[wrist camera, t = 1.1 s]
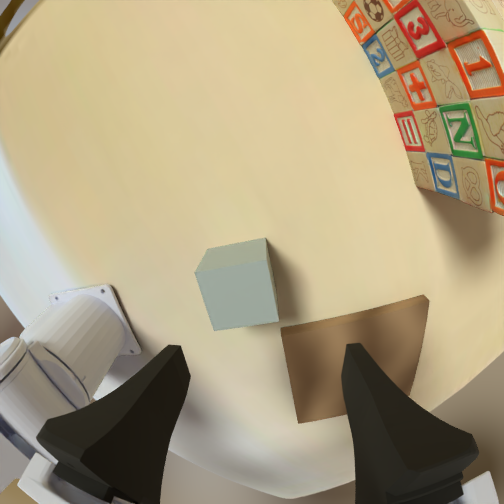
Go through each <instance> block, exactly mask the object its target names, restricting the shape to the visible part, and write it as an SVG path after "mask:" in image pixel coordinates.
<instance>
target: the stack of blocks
mask: <svg viewBox="0 0 504 504" xmlns="http://www.w3.org/2000/svg"><path fill="white" fill-rule="evenodd" d="M332 1H333V2H334V4H335V5H336V6H337V8H338V9H339V11H340V12H341V14H342V15H343V16H344V18H345V20H346V22H347V23H348V25H349V27H350V28H351V30H352V32H353V33H354V35H355V37H356V38H357V40H358V42H359V44H360V45H362V47H363V49H364V51H365V53H366V55H367V57H368V58H369V60H370V62H371V64H372V66H373V68H374V70H375V72H376V74H377V77H378V78H379V79H380V82H381V85H382V87H383V89H384V91H385V93H386V96H387V98H388V100H389V103H390V105H391V108H392V110H393V112H394V117H395V120H396V123H397V126H398V128H399V131H400V134H401V137H402V140H403V143H404V146H405V149H406V151H407V156H408V159H409V163H410V166H411V170H412V173H413V177H414V181H415V184H416V186H417V187H421V188H424V189H427V190H431V191H434V192H439V193H441V194H444V195H447V196H450V197H453V198H456V199H458V200H462V202H464V203H467V204H469V205H471V206H474V207H477V208H480V209H482V210H484V211H487V212H490V213H493V212H496V213H498V214H500V215H502V216H504V0H332Z"/></svg>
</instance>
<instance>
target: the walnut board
mask: <svg viewBox="0 0 504 504" xmlns="http://www.w3.org/2000/svg"><path fill="white" fill-rule="evenodd" d="M428 308H429V300H428V299H427V298H426V297H425V296H424V295H420V296H417V297H414V298H410V299H407V300H403V301H400V302H396V303H392V304H389V305H385V306H381V307H377V308H373V309H369V310H365V311H361V312H357V313H352V314H348V315H344V316H339V317H335V318H330V319H325V320H320V321H315V322H310V323H305V324H300V325H295V326H289V327H283V328H281V337H282V342H283V347H284V352H285V357H286V362H287V367H288V373H289V378H290V383H291V388H292V393H293V399H294V404H295V409H296V415H297V420H298V424H299V423H306V422H311V421H317V420H322V419H327V418H332V417H336V416H341V415H345V414H347V410H346V406H345V402H344V397H343V390H342V381H341V373H342V367H343V362H344V356H345V350H346V344H351V343H361V344H362V345H363V346H364V348H365V349H366V350H367V352H368V353H369V354H370V356H371V357H372V358H373V359H374V361H375V362H376V363H377V364H378V365H379V367H380V368H381V369H382V370H383V371H384V372H385V373H386V375H387V376H388V377H389V378H390V379H391V380H392V381H393V382H394V383H395V384H396V385H397V386H398V387H399V388H400V389H401V390H402V391H403V392H404V393H405V394H406V395H407V396H409V395H410V392H411V388H412V385H413V381H414V377H415V374H416V370H417V366H418V362H419V357H420V353H421V348H422V343H423V338H424V333H425V327H426V321H427V315H428Z"/></svg>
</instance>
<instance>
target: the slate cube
mask: <svg viewBox="0 0 504 504" xmlns="http://www.w3.org/2000/svg"><path fill="white" fill-rule="evenodd" d="M195 275H196V278H197V282H198V285H199V288H200V291H201V294H202V297H203V300H204V303H205V306H206V309H207V312H208V315H209V318H210V321H211V324H212V326H213V329H214V331H217V330H225V329H233V328H240V327H247V326H254V325H260V324H266V323H273V322H279V315H278V304H277V293H276V287H275V282H274V277H273V272H272V267H271V262H270V257H269V252H268V247H267V242H266V238H261V239H256V240H251V241H246V242H241V243H235V244H230V245H225V246H220V247H215V248H210V249H207V251H206V253H205V255H204V257H203V258H202V260H201V262H200V264H199V266H198V267H197V269H196V271H195Z"/></svg>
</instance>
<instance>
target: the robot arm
mask: <svg viewBox="0 0 504 504" xmlns="http://www.w3.org/2000/svg"><path fill="white" fill-rule="evenodd" d="M103 290H104V291H105V292H104V291H103ZM49 300H50V302H51V305H50V306H49V307H48V308H47V309H46V310H45V311H44V312H43V313H42V314H40V315H39V316H38V317H37V318H36V319H35V320H34V321H33V322H32V323H31V324H30V325H29V326H28V327H27V328H26V329H25V330H24V331H23V332H22V333H21V335H20V337H19V338H16V337H11V338H9V339H7V340H6V341H4V342H3V343H1V344H0V493H1V492H2V491H3V490H4V489H5V488H6V487H7V486H8V485H9V484H10V483H11V482H12V481H13V480H14V479H15V478H18V479H20V481H19V482H18V484H17V485H18V487H19V488H21V489H22V490H23V491H24V492H25V493H27V494H28V495H29V496H30V497H32V498H33V499H34V500H35V501H36V502H38V503H39V504H133V503H134V504H160V495H161V485H162V478H163V471H164V466H165V461H166V455H167V451H168V447H169V442H170V439H171V435H172V432H173V430H174V427H175V424H176V422H177V419H178V417H179V414H180V411H181V409H182V406H183V403H184V401H185V398H186V395H187V391H188V387H189V382H190V377H191V376H190V373H189V370H188V367H187V364H186V361H185V357H184V354H183V351H182V348H181V346H180V345H168V346H167V347H165V348H164V349H163V350H162V351H161V352H160V353H159V354H158V355H157V356H156V357H154V358H153V359H152V360H151V361H150V362H149V363H148V364H147V365H146V366H144V367H143V368H142V369H141V370H140V371H139V372H138V373H136V374H135V375H134V376H133V377H131V378H130V379H129V380H128V381H126V382H125V383H124V384H123V385H121V386H120V387H118V388H117V389H115V390H114V391H112V392H111V393H109V394H108V395H106V396H104V397H103V398H101V399H99V400H97V401H95V402H93V403H92V404H90V401H91V399H92V398H93V396H94V394H95V392H96V391H97V389H98V387H99V385H100V384H101V382H102V380H103V379H104V377H105V375H106V374H107V372H108V370H109V369H110V367H111V365H112V364H113V362H114V361H115V359H116V357H117V356H118V355H139V354H140V353H141V348H140V346H139V344H138V342H137V341H136V339H135V337H134V335H133V333H132V331H131V328H130V326H129V324H128V322H127V320H126V318H125V316H124V314H123V312H122V309H121V307H120V305H119V303H118V300H117V298H116V296H115V293H114V291H113V289H112V287H111V286H110V285H108V284H105V285H99V286H94V287H88V288H82V289H77V290H71V291H65V292H60V293H54V294H50V295H49ZM132 350H133V351H132ZM341 381H342V390H343V397H344V402H345V406H346V410H347V415H348V419H349V424H350V428H351V433H352V438H353V444H354V456H355V477H356V498H355V504H499V502H498V498H497V494H496V490H495V487H494V484H493V480H492V477H491V474H490V472H489V471H487V472H485V473H483V474H481V475H480V476H478V477H476V478H474V479H472V480H470V481H468V482H467V483H465V484H463V485H462V486H461V482H460V480H462V479H463V474H462V471H463V470H464V469H465V468H466V467H467V466H469V465H470V464H471V463H472V462H473V461H474V460H475V459H476V458H477V456H478V454H479V450H478V447H477V444H476V442H475V440H474V438H473V436H472V434H470V433H467V432H465V431H462V430H460V429H458V428H455V427H453V426H451V425H449V424H447V423H446V422H444V421H442V420H440V419H439V418H437V417H435V416H434V415H432V414H431V413H429V412H428V411H426V410H425V409H423V408H422V407H421V406H419V405H418V404H417V403H415V402H414V401H413V400H412V399H411V398H409V397H408V396H407V395H406V394H405V393H404V392H403V391H402V390H401V389H400V388H399V387H398V386H397V385H396V384H395V383H394V382H393V381H392V380H391V379H390V378H389V377H388V376H387V375H386V373H385V372H384V371H383V370H382V369H381V368H380V367H379V365H378V364H377V363H376V362H375V361H374V359H373V358H372V357H371V356H370V354H369V353H368V352H367V350H366V349H365V348H364V346H363V345H362V344H361V343H351V344H346V350H345V356H344V362H343V367H342V373H341Z"/></svg>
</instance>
